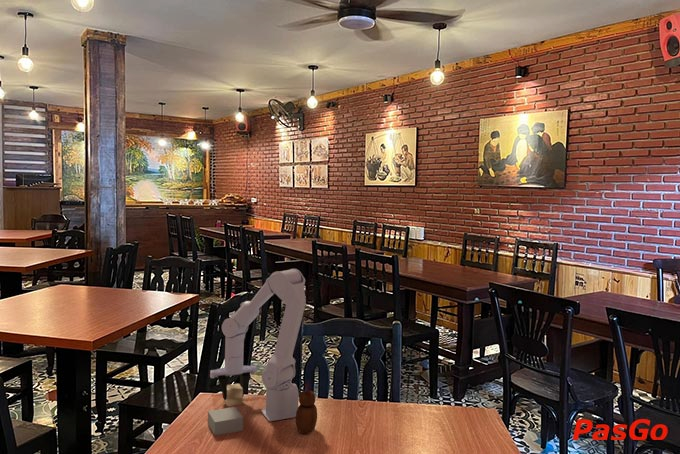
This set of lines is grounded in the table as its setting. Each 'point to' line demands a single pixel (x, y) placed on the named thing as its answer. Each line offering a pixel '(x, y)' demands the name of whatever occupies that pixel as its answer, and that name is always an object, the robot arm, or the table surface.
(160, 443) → the table surface
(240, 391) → the maple cube
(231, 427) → the slate base block
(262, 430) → the table surface
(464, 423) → the table surface
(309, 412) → the wooden figurine
